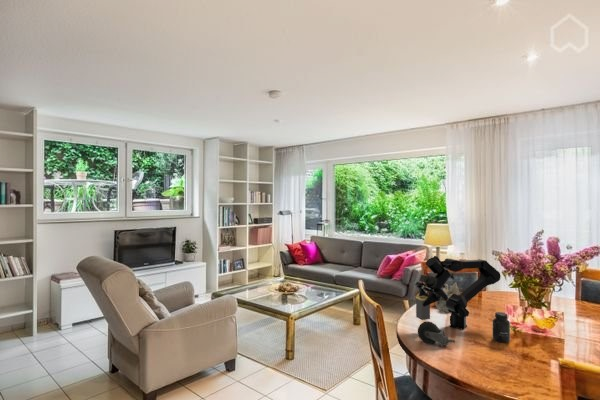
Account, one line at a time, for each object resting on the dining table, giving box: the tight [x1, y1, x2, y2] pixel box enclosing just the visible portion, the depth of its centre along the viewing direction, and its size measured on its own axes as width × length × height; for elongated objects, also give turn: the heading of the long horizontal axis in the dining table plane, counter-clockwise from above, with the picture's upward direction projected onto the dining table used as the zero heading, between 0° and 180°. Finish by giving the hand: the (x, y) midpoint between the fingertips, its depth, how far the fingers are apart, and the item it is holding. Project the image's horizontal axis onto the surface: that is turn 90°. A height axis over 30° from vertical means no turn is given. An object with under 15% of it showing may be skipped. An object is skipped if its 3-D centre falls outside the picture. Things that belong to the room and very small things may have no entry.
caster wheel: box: [417, 320, 456, 348], centre depth 155 cm, size 6×10×15 cm
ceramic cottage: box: [434, 282, 461, 313], centre depth 206 cm, size 16×16×15 cm
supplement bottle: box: [492, 311, 511, 344], centre depth 158 cm, size 7×7×12 cm
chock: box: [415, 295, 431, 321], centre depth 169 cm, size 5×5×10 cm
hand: (420, 304), depth 169 cm, fingers closed on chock, 4 cm apart
